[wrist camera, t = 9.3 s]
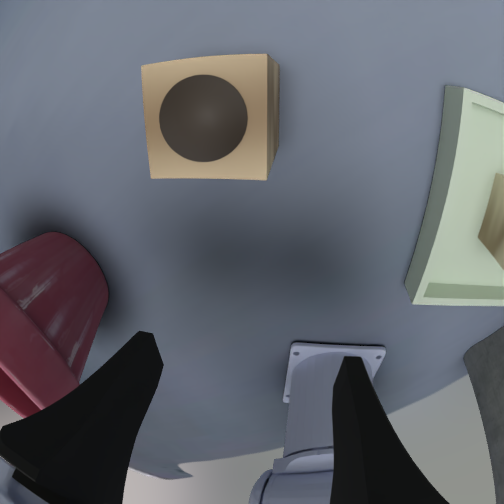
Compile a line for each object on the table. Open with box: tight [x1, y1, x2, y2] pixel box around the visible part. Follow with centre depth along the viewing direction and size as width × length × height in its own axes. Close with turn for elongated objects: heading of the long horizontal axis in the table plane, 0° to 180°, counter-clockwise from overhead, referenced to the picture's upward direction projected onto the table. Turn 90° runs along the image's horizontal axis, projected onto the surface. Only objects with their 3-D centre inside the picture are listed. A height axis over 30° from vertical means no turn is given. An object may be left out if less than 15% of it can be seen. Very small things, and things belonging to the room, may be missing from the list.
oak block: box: [141, 54, 279, 180], centre depth 12 cm, size 4×4×6 cm
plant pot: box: [0, 232, 109, 418], centre depth 18 cm, size 14×14×13 cm
